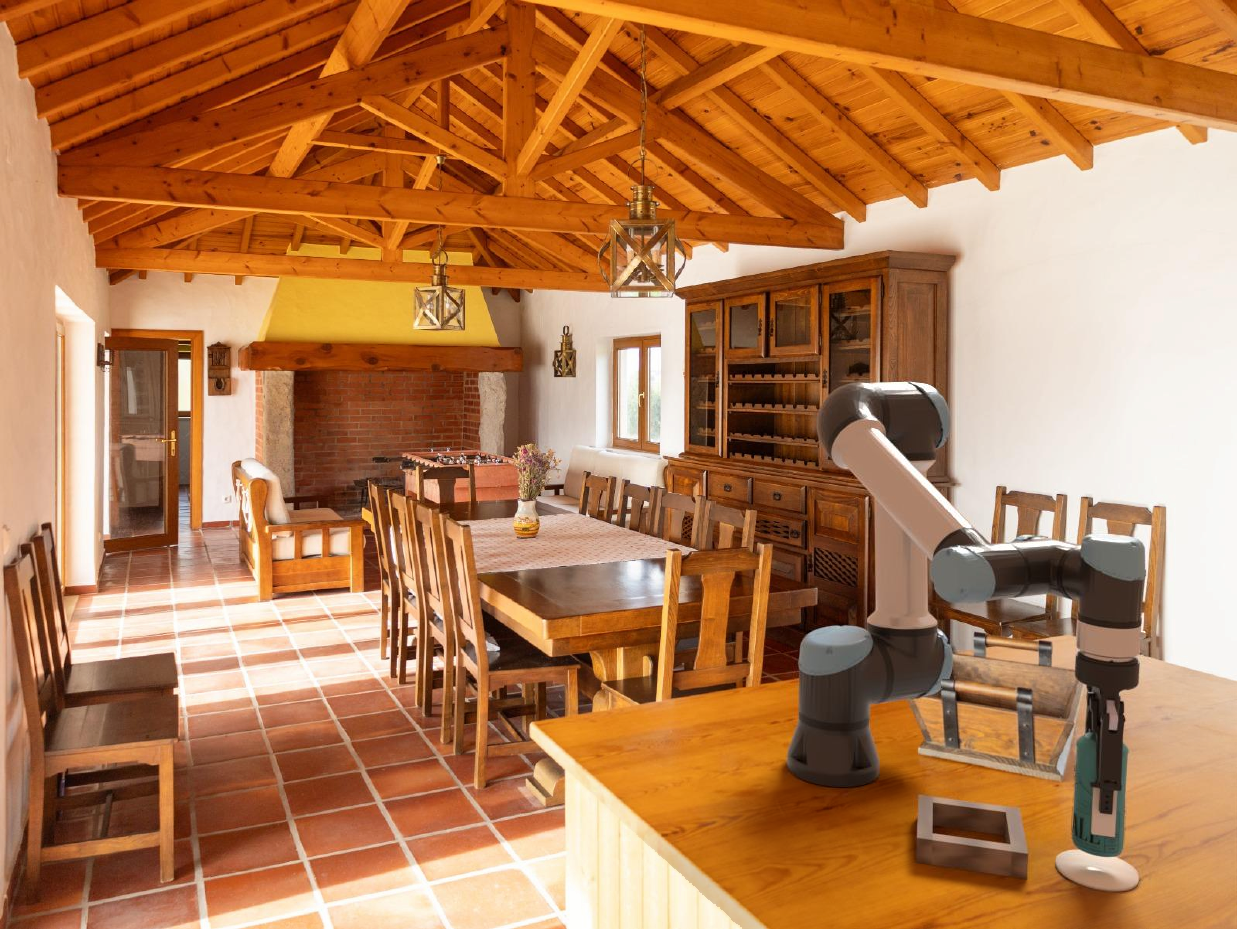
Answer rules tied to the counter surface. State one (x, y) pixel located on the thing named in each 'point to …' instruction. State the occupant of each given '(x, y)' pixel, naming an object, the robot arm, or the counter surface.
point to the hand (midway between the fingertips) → (1098, 821)
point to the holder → (971, 851)
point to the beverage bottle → (1084, 799)
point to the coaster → (1097, 871)
